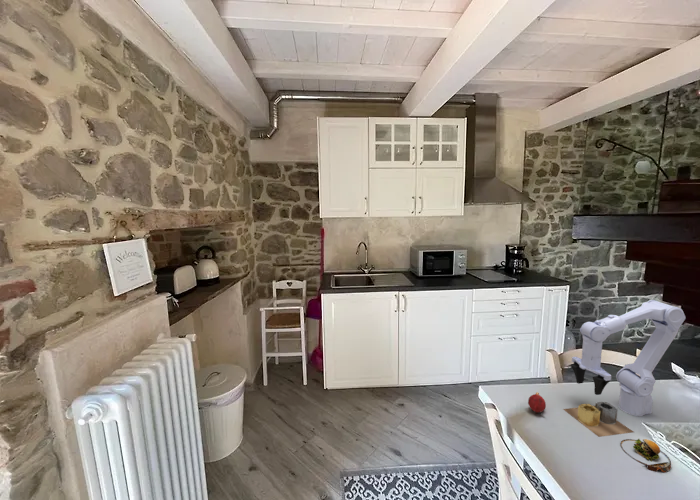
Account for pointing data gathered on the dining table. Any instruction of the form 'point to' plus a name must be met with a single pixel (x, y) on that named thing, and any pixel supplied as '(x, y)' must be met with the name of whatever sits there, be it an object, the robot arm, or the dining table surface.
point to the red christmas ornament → (536, 403)
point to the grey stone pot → (607, 412)
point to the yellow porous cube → (588, 414)
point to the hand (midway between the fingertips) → (588, 388)
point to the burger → (650, 454)
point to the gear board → (601, 425)
